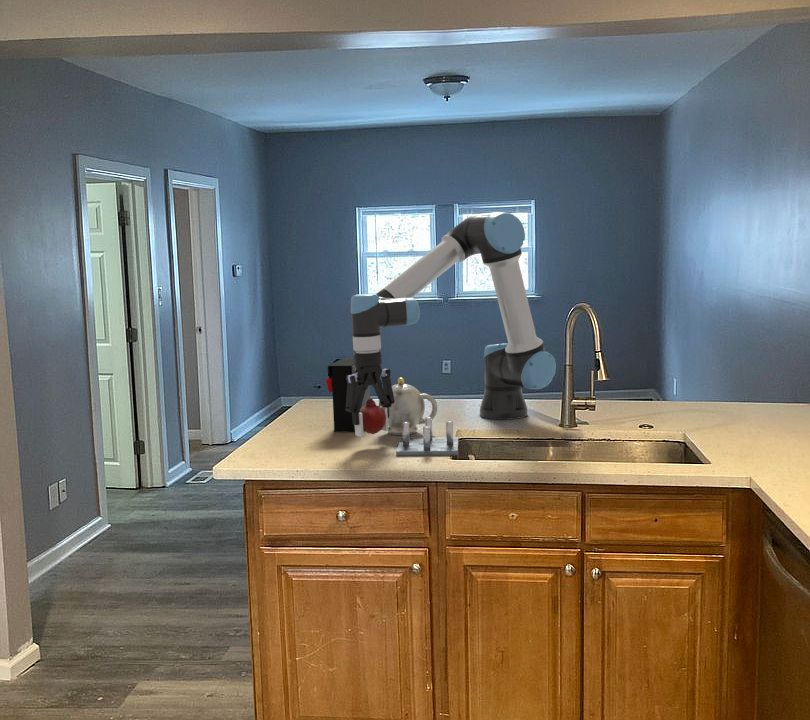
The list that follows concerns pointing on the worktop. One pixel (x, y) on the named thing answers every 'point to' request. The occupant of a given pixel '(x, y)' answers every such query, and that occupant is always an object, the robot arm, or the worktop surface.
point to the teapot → (408, 408)
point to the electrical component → (342, 393)
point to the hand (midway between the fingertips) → (372, 433)
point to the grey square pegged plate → (428, 442)
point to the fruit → (372, 417)
